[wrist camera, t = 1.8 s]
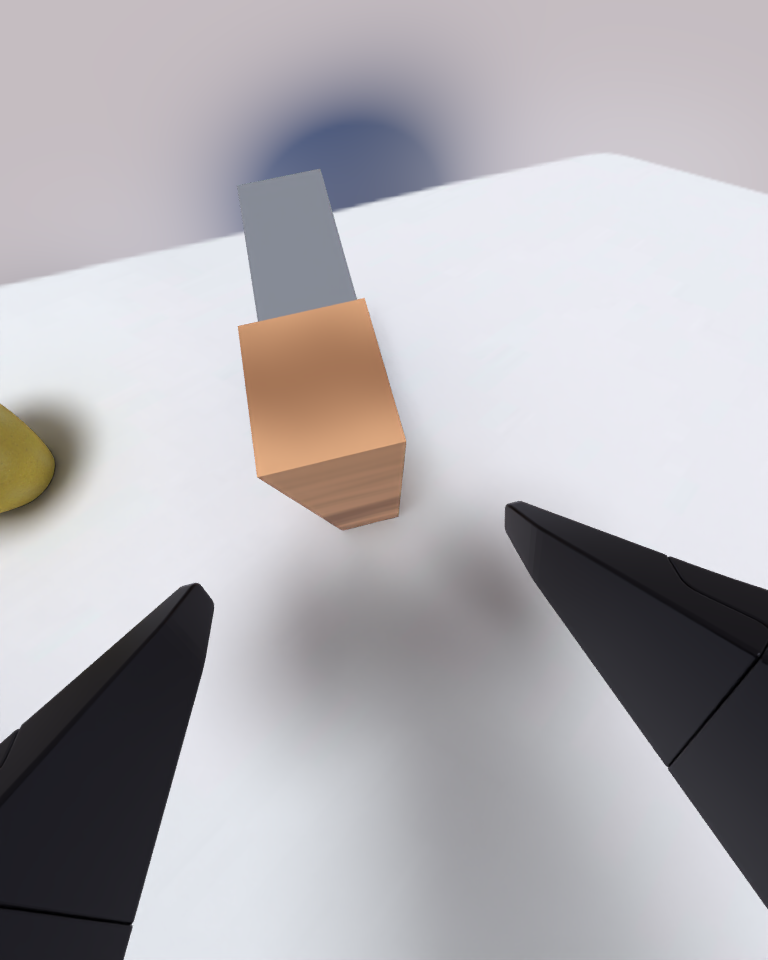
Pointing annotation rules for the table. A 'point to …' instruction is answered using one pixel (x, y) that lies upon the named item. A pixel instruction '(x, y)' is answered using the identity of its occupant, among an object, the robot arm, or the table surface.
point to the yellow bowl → (21, 462)
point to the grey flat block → (293, 245)
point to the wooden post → (324, 413)
